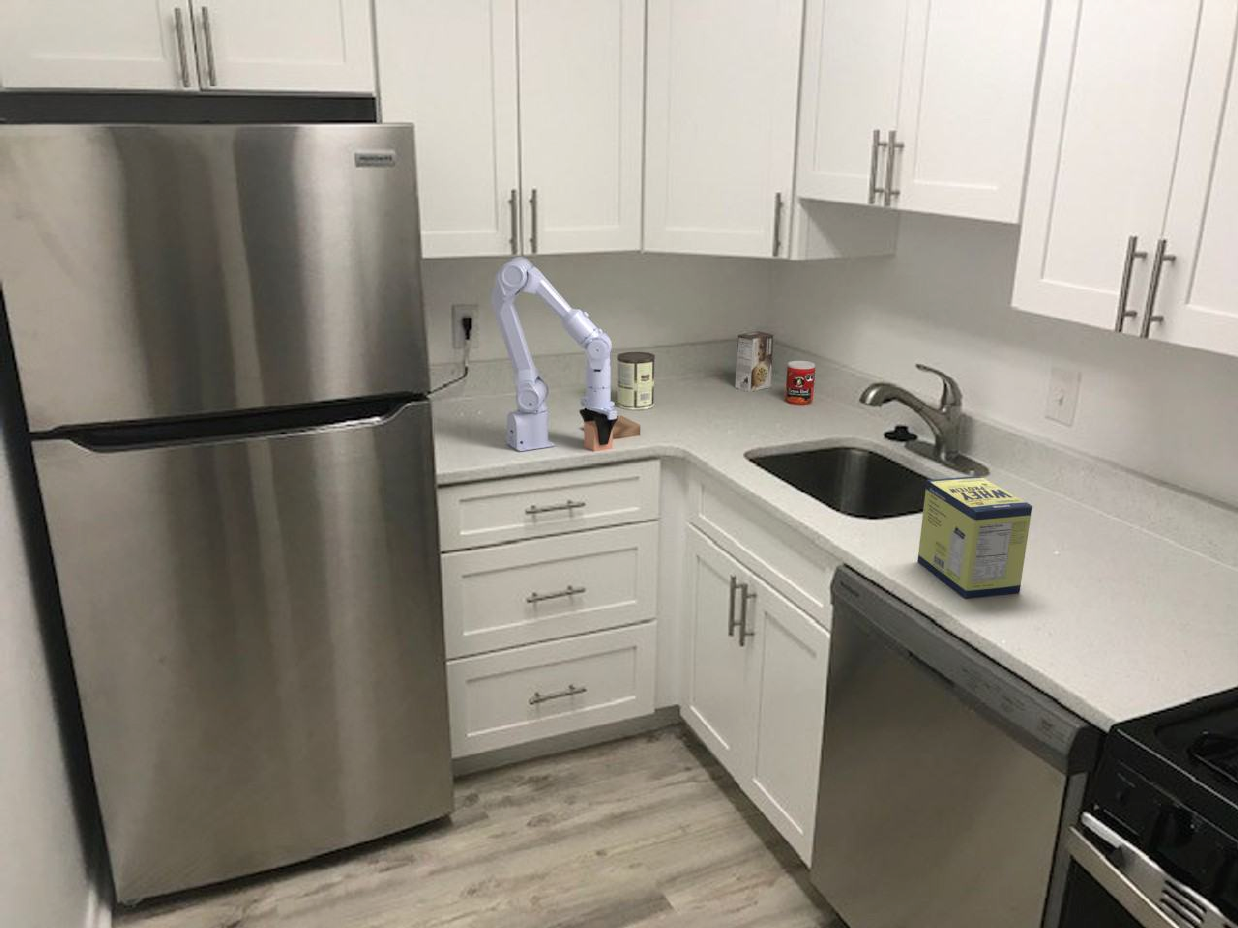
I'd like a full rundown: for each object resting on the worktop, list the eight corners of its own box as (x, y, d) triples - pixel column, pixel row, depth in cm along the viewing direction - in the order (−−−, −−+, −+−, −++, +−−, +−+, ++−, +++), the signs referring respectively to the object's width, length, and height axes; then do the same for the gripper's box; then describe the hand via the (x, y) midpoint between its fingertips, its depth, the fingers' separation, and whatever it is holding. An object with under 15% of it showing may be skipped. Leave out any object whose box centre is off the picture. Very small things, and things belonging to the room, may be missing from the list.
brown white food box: (755, 383, 294) (758, 330, 288) (771, 387, 289) (774, 334, 284) (734, 388, 288) (737, 334, 283) (750, 392, 283) (753, 337, 278)
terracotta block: (593, 451, 229) (593, 427, 227) (584, 445, 233) (584, 422, 231) (612, 448, 231) (612, 424, 229) (602, 443, 235) (602, 419, 234)
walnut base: (605, 442, 238) (605, 430, 237) (586, 431, 246) (586, 420, 245) (640, 436, 242) (640, 425, 241) (620, 426, 250) (620, 415, 249)
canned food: (783, 404, 271) (785, 365, 268) (787, 397, 278) (789, 359, 275) (811, 406, 269) (813, 367, 265) (814, 399, 276) (817, 361, 273)
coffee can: (629, 398, 275) (630, 349, 271) (660, 404, 270) (662, 354, 266) (609, 406, 267) (609, 356, 263) (641, 412, 262) (642, 361, 257)
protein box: (967, 555, 174) (978, 474, 169) (1021, 593, 160) (1035, 505, 155) (915, 561, 172) (924, 478, 167) (965, 600, 157) (977, 511, 152)
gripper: (628, 390, 223) (627, 446, 228) (599, 377, 235) (598, 431, 240) (601, 394, 220) (601, 451, 224) (573, 380, 232) (573, 434, 236)
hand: (598, 441), depth 232 cm, fingers closed on terracotta block, 5 cm apart
